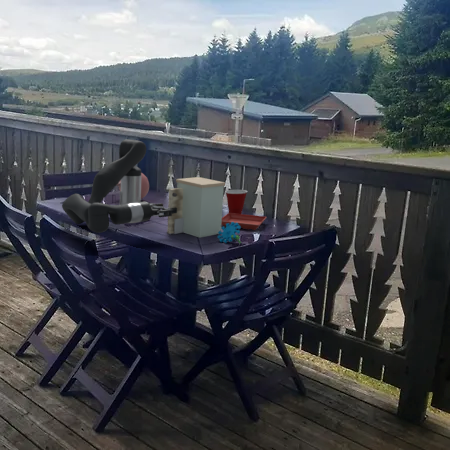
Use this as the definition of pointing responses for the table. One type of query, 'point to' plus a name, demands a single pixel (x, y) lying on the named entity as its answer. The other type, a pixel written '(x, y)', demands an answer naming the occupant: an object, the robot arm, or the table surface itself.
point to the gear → (229, 233)
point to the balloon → (143, 185)
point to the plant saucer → (243, 220)
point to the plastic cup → (235, 200)
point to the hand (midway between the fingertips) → (169, 208)
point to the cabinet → (200, 207)
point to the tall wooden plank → (177, 202)
